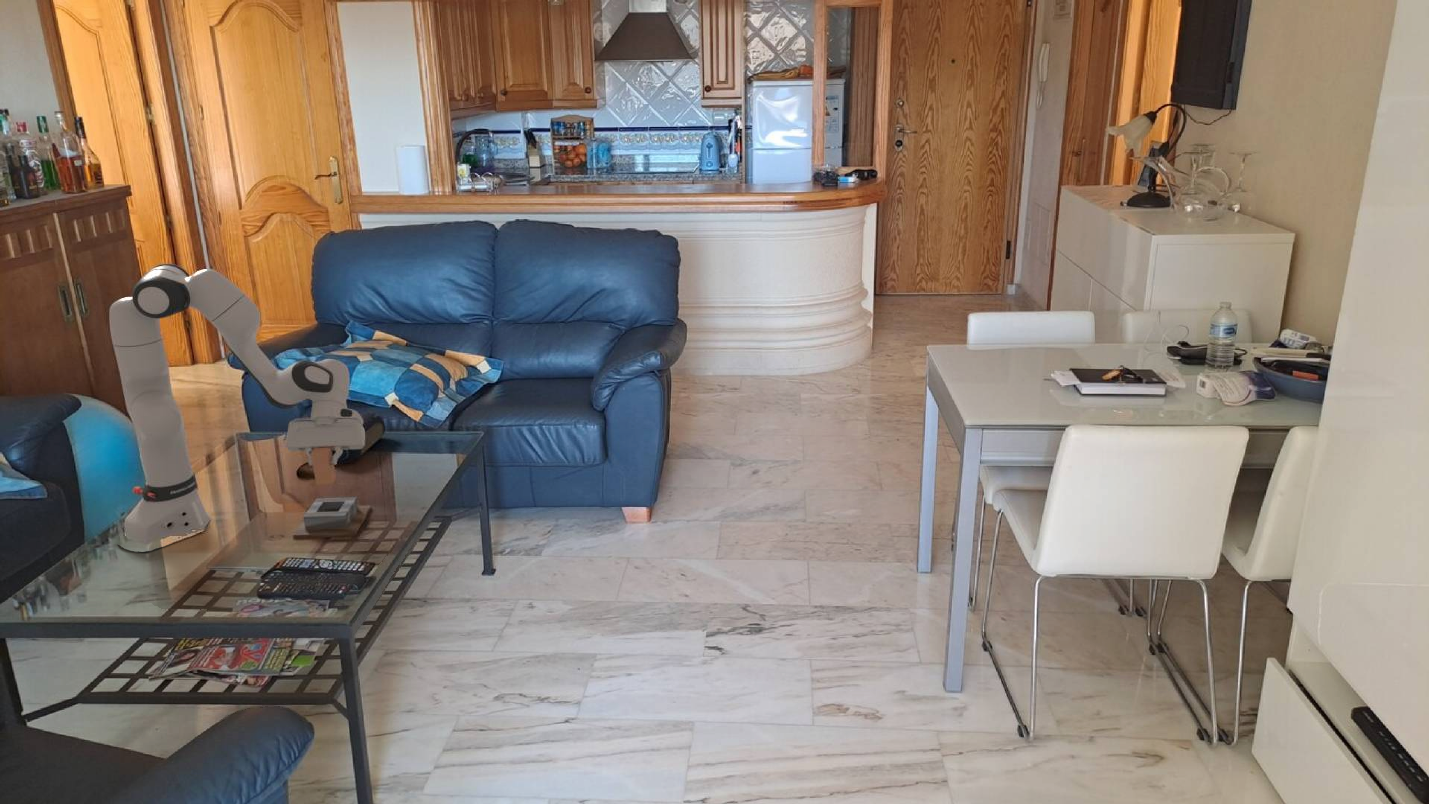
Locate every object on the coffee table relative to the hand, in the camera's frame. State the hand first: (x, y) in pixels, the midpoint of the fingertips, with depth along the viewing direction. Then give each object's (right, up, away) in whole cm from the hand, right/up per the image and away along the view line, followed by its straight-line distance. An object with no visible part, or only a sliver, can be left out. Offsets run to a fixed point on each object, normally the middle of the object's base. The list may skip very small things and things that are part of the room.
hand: (322, 464), depth 259 cm
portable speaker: (-9, +1, +53) cm, 54 cm away
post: (0, -5, +2) cm, 5 cm away
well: (0, -16, +7) cm, 18 cm away
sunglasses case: (-17, -4, +43) cm, 46 cm away
